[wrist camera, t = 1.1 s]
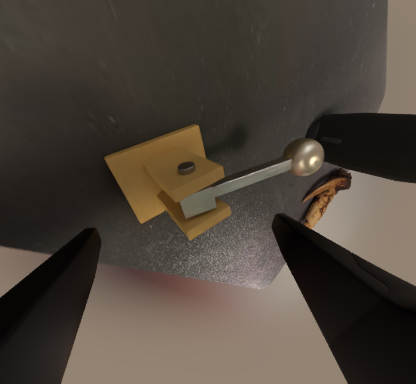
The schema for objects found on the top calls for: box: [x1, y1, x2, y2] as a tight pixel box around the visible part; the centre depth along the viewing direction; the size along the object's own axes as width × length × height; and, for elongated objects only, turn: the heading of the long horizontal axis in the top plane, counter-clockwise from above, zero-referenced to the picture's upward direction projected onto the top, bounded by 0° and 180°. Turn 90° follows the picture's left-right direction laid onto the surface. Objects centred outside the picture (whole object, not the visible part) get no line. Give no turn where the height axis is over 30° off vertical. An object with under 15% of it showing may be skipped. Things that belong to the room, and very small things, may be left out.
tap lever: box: [179, 138, 325, 219], centre depth 17 cm, size 14×4×4 cm, turn 104°
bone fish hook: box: [302, 168, 352, 229], centre depth 44 cm, size 9×5×18 cm
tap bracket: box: [104, 124, 231, 240], centre depth 18 cm, size 10×8×9 cm
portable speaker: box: [306, 113, 416, 183], centre depth 28 cm, size 9×9×20 cm
